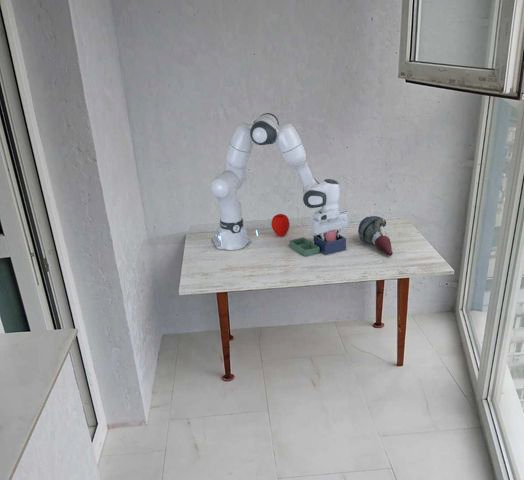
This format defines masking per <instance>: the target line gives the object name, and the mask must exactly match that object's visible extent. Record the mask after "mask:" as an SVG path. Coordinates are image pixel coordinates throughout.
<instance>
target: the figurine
mask: <svg viewBox="0 0 524 480" xmlns="http://www.w3.org/2000/svg"><path fill="white" fill-rule="evenodd" d="M386 226H387V220H386V219H385V218H384V217H381V216H378V215H371V216H365V217H364V218H363V219H362V220H361V221H360V222H359V223H358V229H357V233H358V237H359V240H360V241H361V242H362V243H363V244H373V245H374V247H376V249H378V251H380V252H381V253H383V254H385V255H386V256H389V257H391V256H392V255H393V254H394V251H393V249H392V243H391V240H390V238H389V237H390V236H389V231H388V230H387V229H386Z"/></svg>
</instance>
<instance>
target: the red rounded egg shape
mask: <svg viewBox="0 0 524 480" xmlns="http://www.w3.org/2000/svg"><path fill="white" fill-rule="evenodd" d="M270 225H271V229H272V231H273V232H274V234H275V235H276V236H277V237H280V238H281V237H285V236H286V235H287V234H288V232H289V230H290V219H289V217H288V215H286V214H284V213H278V214H275V215H274V216H273V217H272V219H271V224H270Z"/></svg>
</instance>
